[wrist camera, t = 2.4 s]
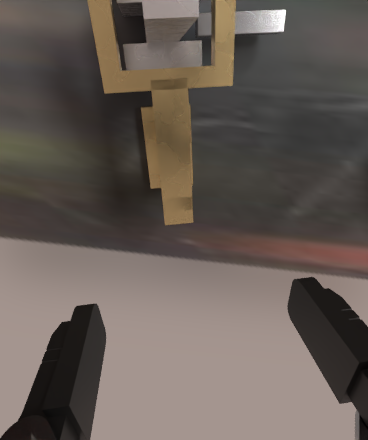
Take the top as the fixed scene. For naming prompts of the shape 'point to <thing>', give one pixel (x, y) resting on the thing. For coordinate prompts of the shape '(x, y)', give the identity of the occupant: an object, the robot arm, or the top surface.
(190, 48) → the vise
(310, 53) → the top surface
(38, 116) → the top surface
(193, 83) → the square loop paddle
